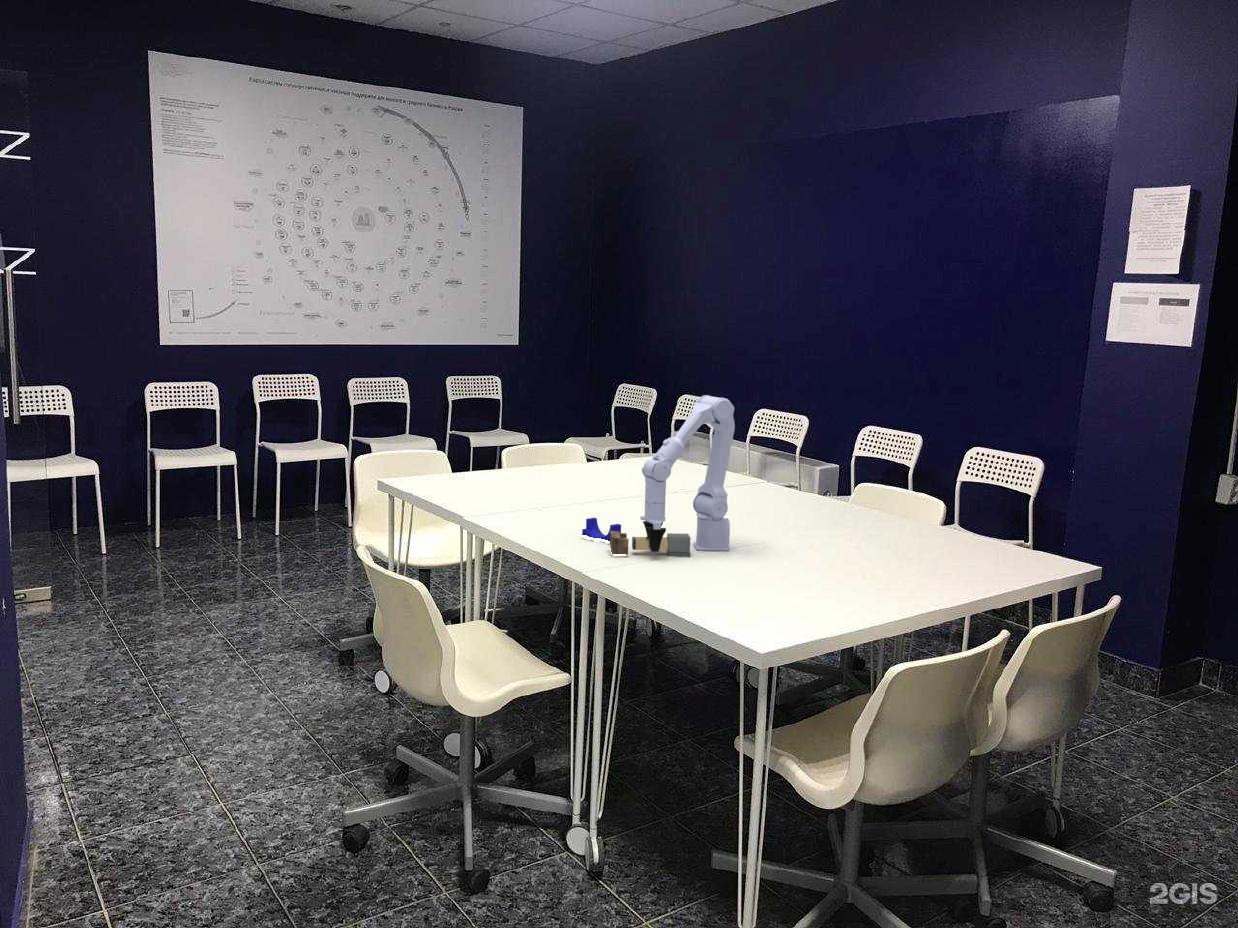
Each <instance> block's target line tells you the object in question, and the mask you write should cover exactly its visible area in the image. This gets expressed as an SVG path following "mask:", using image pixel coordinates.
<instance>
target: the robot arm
mask: <svg viewBox="0 0 1238 928" xmlns="http://www.w3.org/2000/svg"><path fill="white" fill-rule="evenodd" d="M734 412H735V406H734V405H733V403H732V402H731V401H730V400H729V399H728V398H725V397H717V396H711V395H709V394H708V395H707V394H705V395H702V396H701V397H699V398H698V400H697V402H696V403H694V404H693V406H692V411H691V413H690V414H689V415H688V416H687V418H686V420H685V421H684V423H683V424H682V425H681V427H680V428H679V430H678V431H677V433H676V434H675V436H673V437H668V438H666V439H664V440H663V442H662V446H661V447H660V448H659V449H658V450H657V452H656V453H654V454H653V455H652V456H653V457H651V458H650V459H647V460H646V461H645V462H644V465H643V467H642V468H641V473H642V475H643V476H644V482H645V485H644V486H645V491H644V515H643V516H641V515H640V518H639V519H640V520H641V521H642V524H643V526H644V528H645V532H646V533H645V534H646V537H649V542H650V549H651V550H650V551H651V552H650V553H659V552H660V550H659V549H660V545H661V540H662V537H664V535H665V533H666V531H667V528H666V527H662V526H663V524H664V522H665V521H666V517H665V516H666V495H667V494H666V493H667V491H666V489H667V479H668V478H669V477H670V476H671V474H672V468H673V467H674V465H675V464H676V462H677V461H678V459H679V458H680V457H681V456H682V454H683V453H684V452H685V444H686V443H687V442H688V441H689V439H690V438H692V437H693V435H694V434H695V433H696V432H697V431H698V430H699V429H700V428H701V426H703V425H705V424H710V425H711V426H712V428H713V429H714V433H713V438H712V443H711V448H710V452H709V453H710V454H709V456H708V457H709V458H708V459H709V460H708V464H707V468H706V474H705V478H704V483H703V484H701V486H699V487H698V488H697V489H698V490H697V493H696V495H695V496H694V499H693V501H692V507H693V510H694V511H695V512H696V535H695V536H696V537H695V538H696V539H695V542H693V543H692V544H693V547H694V548H695V550H697V551H730V533H731V532H730V531H731V527H730V526H731V525H730V524H731V522H730V519H729V518H728V517H725V516H726V514H727V513H728V509H729V506H728V505H729V504H728V493H727V491H726V489H725V488H724V485H725V479H726V475H727V468H728V463H729V458H730V453H731V449H732V444H733V440H734V439H733V438H734V434H735V428H736V425H735V424H736V423H735V418H734Z"/></svg>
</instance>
